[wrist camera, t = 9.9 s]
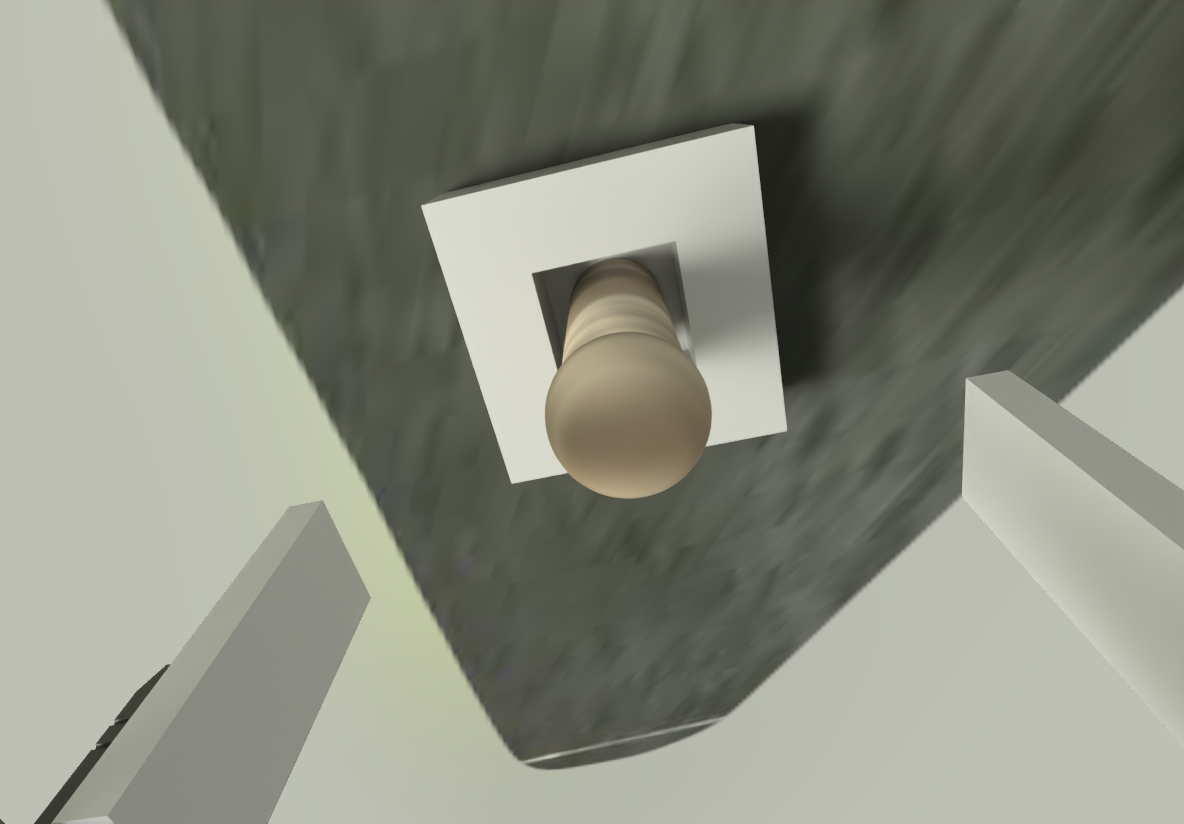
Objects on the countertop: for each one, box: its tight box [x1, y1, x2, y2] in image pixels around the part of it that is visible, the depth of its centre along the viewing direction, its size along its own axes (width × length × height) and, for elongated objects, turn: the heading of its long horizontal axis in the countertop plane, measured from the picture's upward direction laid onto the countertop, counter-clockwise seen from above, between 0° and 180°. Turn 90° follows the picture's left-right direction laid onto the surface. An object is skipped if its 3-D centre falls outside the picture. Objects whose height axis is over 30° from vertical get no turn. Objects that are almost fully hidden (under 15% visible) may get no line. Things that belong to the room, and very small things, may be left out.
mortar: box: [421, 123, 787, 483], centre depth 27 cm, size 12×12×4 cm
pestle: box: [545, 258, 712, 498], centre depth 22 cm, size 5×5×14 cm
